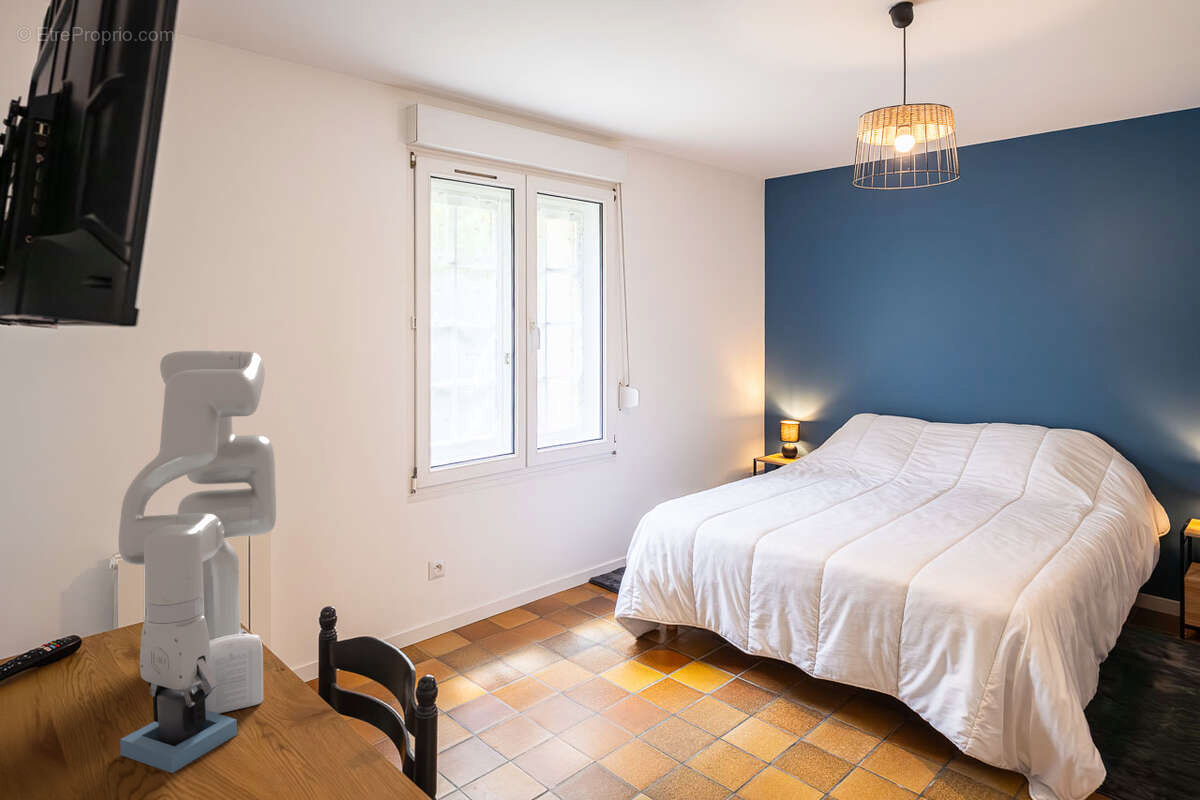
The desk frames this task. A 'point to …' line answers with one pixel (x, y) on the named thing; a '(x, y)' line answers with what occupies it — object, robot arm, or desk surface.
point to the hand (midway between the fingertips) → (179, 721)
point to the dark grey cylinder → (173, 717)
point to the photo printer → (236, 673)
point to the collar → (171, 758)
